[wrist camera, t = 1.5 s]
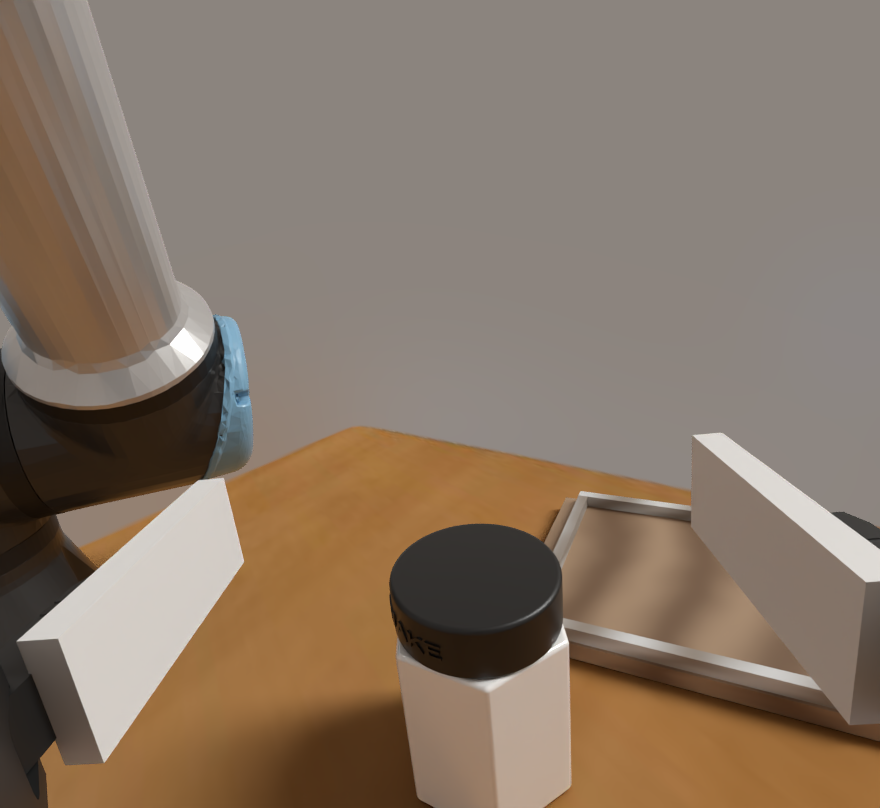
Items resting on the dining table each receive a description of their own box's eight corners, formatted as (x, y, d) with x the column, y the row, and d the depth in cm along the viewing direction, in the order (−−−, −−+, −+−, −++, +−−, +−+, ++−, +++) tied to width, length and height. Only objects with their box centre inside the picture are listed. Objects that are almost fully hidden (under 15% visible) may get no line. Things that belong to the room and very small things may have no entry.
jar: (417, 691, 34) (393, 524, 30) (547, 680, 34) (542, 511, 30) (411, 850, 25) (378, 647, 21) (586, 837, 25) (585, 631, 21)
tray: (503, 640, 37) (502, 614, 36) (566, 508, 52) (566, 488, 51) (916, 751, 28) (925, 718, 27) (846, 550, 43) (851, 526, 42)
